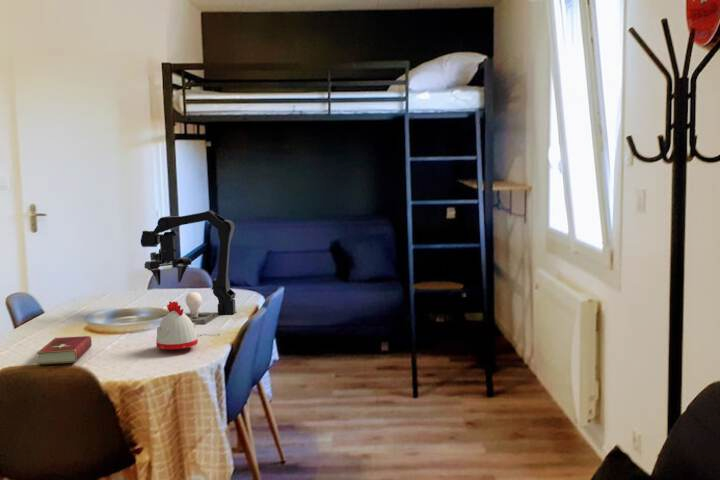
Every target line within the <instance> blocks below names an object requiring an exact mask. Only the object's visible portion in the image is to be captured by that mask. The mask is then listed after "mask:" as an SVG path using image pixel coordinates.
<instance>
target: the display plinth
mask: <svg viewBox="0 0 720 480" xmlns="http://www.w3.org/2000/svg"><path fill="white" fill-rule="evenodd" d="M185 314H186V315H187V316H188V317H189V319H190V320H191V321H192V323H195V325H207V324H208V323H210V322H211V321H214V319H216V318H218V314H217V315H216V314H215V313H198V318H196V319H193V318H191V313H185Z"/></svg>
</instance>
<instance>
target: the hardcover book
mask: <svg viewBox="0 0 720 480" xmlns="http://www.w3.org/2000/svg"><path fill="white" fill-rule="evenodd" d="M92 344H93V343H92V336H91V335H83V336H82V335H80V336H66V337H65V336H63V337H55V338H53V339H52V340H51V341H50V342H48V343H47V344H45V345H44V346H43V347H42V348H41V349H40V350H38V351H36V354H37V355H38V362H37V365H38V364H42V365H57V364H58V365H59V364H70V363H71V364H72V363H77V361H79V359H80V358H82V356H84V354H86V352H88V350H89V349H90V348H91V347H92Z"/></svg>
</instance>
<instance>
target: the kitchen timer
mask: <svg viewBox="0 0 720 480" xmlns="http://www.w3.org/2000/svg"><path fill="white" fill-rule="evenodd" d="M166 307H167V310H168V313H167V314H166V315H165V316H164V318H163V319H162V320H161V322H160V324H159V326H158V327H157V328H156V338H155V339H156V342H155V344H156V348H158V349H163V350H182V349H186V348H190V347H194V346H197V345H198V334H197V330H196V324H195V323H192V321H191V320H190V319H189V317H188V316H187V315H186V314H187V313H184V308H183V309H182V306H181V304H180V305H179V303H178V301H174V300H173V301H169V303H168V304H166Z"/></svg>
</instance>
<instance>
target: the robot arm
mask: <svg viewBox="0 0 720 480" xmlns="http://www.w3.org/2000/svg"><path fill="white" fill-rule="evenodd" d="M206 221H207V222H208V223H209V224H211V225H212V226H213V227H214V228H216V229H217V236H218V240H219V249H218V250H219V251H218V263H217V275H216V278H213V279H212V280H211V283H212V288H211V291H212V294H213V295H214V296H215V298H217V301H218V304H217V316H233V315H235V314H237V313H238V311H236V310H237V309H236V308H237V307H236V299H235V298H236V292H235V291H234V290H232V289H231V283H230V279H229V278H230V277H229V265H230V264H229V263H230V253H231V252H230V251H231V242H232V238H233V235H234V232H235V223H234V222H233V221H232V220H230V219H225V218H224V217H223V216H221V215H219V214H217V213H216V212H214V211H213V210H207V211H204V212H198V213H192V214H187V215H181V216H177V215H167V216H163V217H160V218H158V220H157V225H156V227H155V228H154V230H142V232H141V233H142V234H141V238H140V245H141V247H142V248H157V247H158V245H159V247H160V248H159V249H158V253H157V252H154V251H153V252H150V255H149V258H150V261H149V260H147V261H145V263H144V269H147V271H150V272H151V273H152V275H153V277H154V278H155V280H156V284H157V285H158V286H160V285H161V269H160V267H166V266H167V267H168V266H175V267H176V269H177V282H178V283H181V281H182V279H183V276H184V274H185V272H186V270H187V269H188V268H189V267H190V266H191V265H192V259H191V258H190V257H186V256H185V257H183V256H182V257H178V258H176V252H177V248H175V237H177V236H179V235H180V233H179V232H177V231H176V230H175V228H178V227H181V226H183V225H190V224H196V223H200V222H206ZM170 230H172V231H170Z"/></svg>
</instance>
